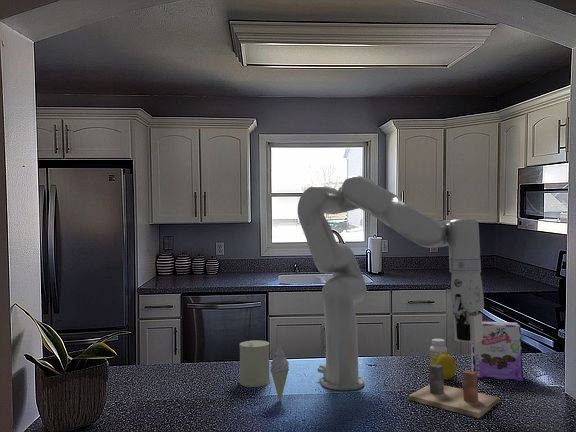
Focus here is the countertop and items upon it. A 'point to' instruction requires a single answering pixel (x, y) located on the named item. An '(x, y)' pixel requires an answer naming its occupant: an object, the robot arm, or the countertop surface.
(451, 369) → the lemon
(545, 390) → the countertop surface
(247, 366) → the can
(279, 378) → the ice cream cone
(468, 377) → the stand
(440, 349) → the supplement bottle
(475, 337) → the white rectangular block
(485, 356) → the candy box
